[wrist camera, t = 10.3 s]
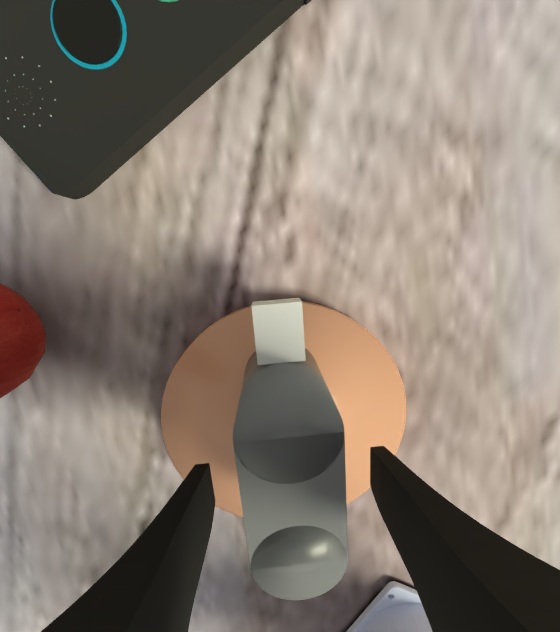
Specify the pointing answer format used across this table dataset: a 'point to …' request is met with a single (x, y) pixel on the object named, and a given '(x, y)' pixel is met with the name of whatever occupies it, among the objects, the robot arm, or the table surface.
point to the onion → (18, 340)
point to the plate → (226, 383)
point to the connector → (290, 461)
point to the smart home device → (113, 75)
